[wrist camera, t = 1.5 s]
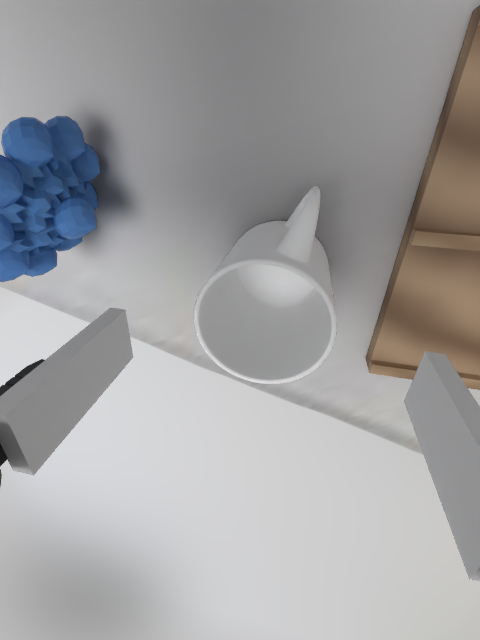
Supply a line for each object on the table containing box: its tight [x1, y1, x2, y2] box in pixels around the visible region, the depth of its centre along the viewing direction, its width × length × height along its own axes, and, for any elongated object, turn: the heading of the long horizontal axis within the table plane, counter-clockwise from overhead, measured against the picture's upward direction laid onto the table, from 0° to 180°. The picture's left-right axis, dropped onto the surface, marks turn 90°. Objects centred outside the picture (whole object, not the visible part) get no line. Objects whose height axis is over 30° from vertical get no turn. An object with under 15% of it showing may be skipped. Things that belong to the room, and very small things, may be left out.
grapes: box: [0, 116, 100, 282], centre depth 22 cm, size 12×7×12 cm, turn 158°
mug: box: [194, 186, 337, 384], centre depth 22 cm, size 9×12×11 cm
